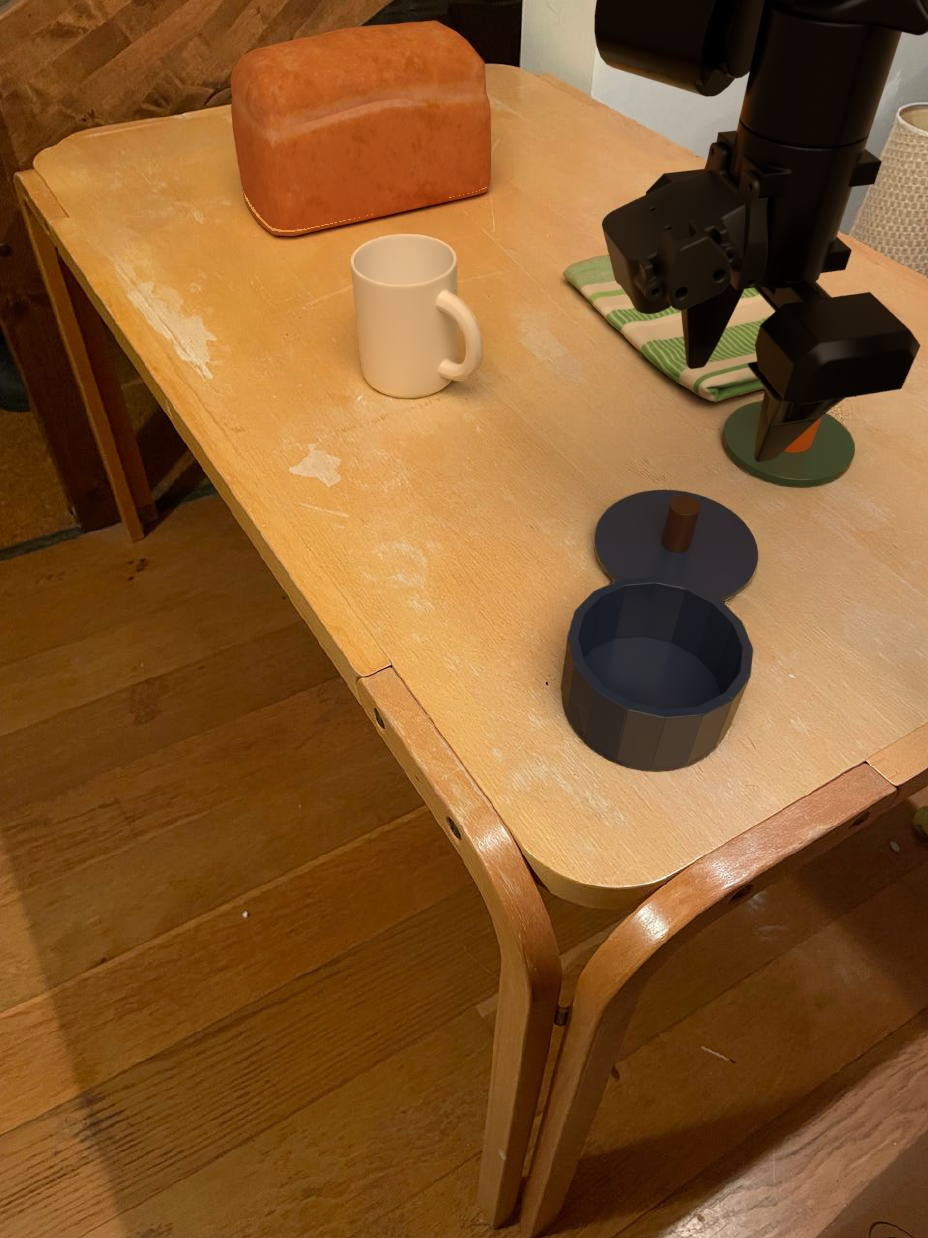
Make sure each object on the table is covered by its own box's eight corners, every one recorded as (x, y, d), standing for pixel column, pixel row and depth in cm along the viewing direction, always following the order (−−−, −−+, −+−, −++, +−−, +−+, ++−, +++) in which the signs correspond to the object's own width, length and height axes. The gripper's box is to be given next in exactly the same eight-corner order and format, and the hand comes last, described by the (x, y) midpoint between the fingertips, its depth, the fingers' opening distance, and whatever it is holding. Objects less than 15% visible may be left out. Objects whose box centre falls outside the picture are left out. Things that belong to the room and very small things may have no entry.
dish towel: (717, 246, 91) (722, 220, 89) (868, 367, 77) (879, 338, 75) (561, 282, 87) (564, 255, 85) (692, 416, 73) (699, 388, 71)
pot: (737, 654, 57) (758, 596, 53) (721, 790, 50) (744, 736, 46) (579, 620, 59) (587, 562, 54) (545, 748, 52) (551, 692, 48)
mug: (510, 386, 76) (516, 271, 68) (445, 432, 72) (443, 315, 64) (408, 335, 81) (402, 223, 73) (341, 375, 77) (327, 260, 69)
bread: (235, 194, 100) (203, 31, 88) (447, 150, 107) (444, -5, 95) (274, 247, 92) (245, 76, 80) (500, 196, 99) (505, 32, 87)
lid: (760, 516, 65) (776, 467, 62) (748, 629, 58) (766, 581, 55) (608, 488, 67) (615, 439, 64) (578, 594, 60) (585, 545, 57)
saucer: (852, 419, 73) (855, 411, 72) (851, 498, 66) (855, 490, 66) (727, 399, 74) (729, 390, 74) (715, 474, 68) (717, 466, 68)
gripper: (568, 67, 45) (547, 343, 57) (727, 240, 33) (658, 543, 45) (771, 48, 47) (710, 320, 58) (992, 206, 35) (858, 507, 46)
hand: (727, 410), depth 52 cm, fingers open, 9 cm apart
